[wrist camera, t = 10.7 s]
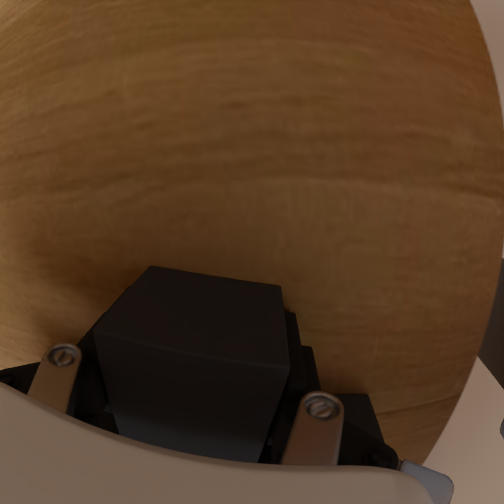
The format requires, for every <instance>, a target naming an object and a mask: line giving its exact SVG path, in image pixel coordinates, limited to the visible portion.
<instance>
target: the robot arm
mask: <svg viewBox="0 0 504 504" xmlns="http://www.w3.org/2000/svg"><path fill="white" fill-rule="evenodd" d="M130 287H131V286H129V287H128V288H127V289H126V291H127V290H128V289H129V288H130ZM126 291H125V292H126ZM125 292H124V293H125ZM124 293H123V294H124ZM123 294H122V295H121V296H120V297H119V298H118V299H117V301H118V300H119V299H120V298H121V297H122V296H123ZM117 301H116V302H117ZM116 302H115V303H116ZM115 303H114V304H113V305H112V306H111V307H110V308H109V310H110V309H111V308H112V307H113V306H114V305H115ZM109 310H108V311H109ZM108 311H107V312H105V313H104V314H103V315H102V316H101V317H100V318H99V319H98V321H97V322H96V323H95V324H94V325H93V326H92V327H91V329H90V330H89V331H88V332H87V333H86V335H85V336H84V337H83V338H82V339H81V340H80V342H79V343H78V344H77V345H74V344H72V343H64V342H62V343H57V344H55V345H52V346H51V347H49V348H48V349H47V351H46V352H45V354H44V356H43V358H42V361H41V362H37V363H32V364H27V365H22V366H17V367H12V368H7V369H3V370H0V504H450V502H451V498H452V495H453V492H454V485H453V482H452V480H451V479H450V478H449V477H448V476H446V475H444V474H442V473H439V472H436V471H434V470H431V469H429V468H426V467H424V466H421V465H419V464H416V463H414V462H411V461H409V460H407V459H404V460H403V461H401V460H399V459H398V456H397V454H396V452H395V451H394V450H393V449H392V448H391V447H389V446H388V445H386V444H385V443H383V442H381V441H380V440H378V439H376V438H375V437H373V436H371V435H370V434H368V433H366V432H365V431H363V430H361V429H360V428H358V427H357V426H355V425H353V424H352V423H350V422H349V421H347V420H346V419H344V406H343V404H342V402H341V401H340V400H339V399H338V398H337V397H336V396H334V395H332V394H330V393H327V392H323V391H321V388H320V383H319V378H318V373H317V369H316V364H315V360H314V355H313V350H312V347H310V346H301V342H300V336H299V330H298V325H297V320H296V314H295V313H293V312H285V311H284V316H285V324H286V332H287V341H288V350H289V359H290V371H289V374H288V377H287V380H286V384H285V387H284V390H283V393H282V396H281V399H280V402H279V405H278V408H277V410H276V413H275V416H274V419H273V422H272V425H271V428H270V430H269V433H268V436H267V445H272V447H273V448H274V449H276V450H277V451H278V454H277V456H276V459H275V462H274V464H260V463H249V462H239V461H231V460H223V459H217V458H210V457H205V456H199V455H194V454H189V453H184V452H179V451H174V450H170V449H166V448H162V447H158V446H154V445H150V444H147V443H143V442H140V441H136V440H133V439H130V438H127V437H123V436H120V435H117V434H115V433H112V432H109V431H106V430H103V429H100V428H98V422H99V413H100V412H103V411H106V412H109V413H112V414H113V412H112V409H111V406H110V402H109V399H108V395H107V392H106V388H105V384H104V380H103V376H102V372H101V368H100V363H99V359H98V354H97V349H96V344H95V339H94V333H93V330H94V328H95V326H96V325H97V324H98V323H99V322H100V321H101V319H102V318H103V317H104V316H105V315H106V314H107V313H108Z"/></svg>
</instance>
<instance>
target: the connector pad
mask: <svg viewBox="0 0 504 504" xmlns="http://www.w3.org/2000/svg"><path fill="white" fill-rule="evenodd" d="M93 333H94V339H95V344H96V349H97V354H98V359H99V363H100V368H101V372H102V376H103V380H104V384H105V388H106V392H107V395H108V399H109V402H110V406H111V409H112V412H113V416H114V419H115V422H116V425H117V428H118V431H119V434H120V436H123V437H127V438H130V439H133V440H136V441H140V442H143V443H147V444H150V445H154V446H158V447H162V448H166V449H170V450H174V451H179V452H184V453H189V454H194V455H199V456H205V457H210V458H217V459H223V460H231V461H239V462H249V463H257V462H258V460H259V457H260V454H261V452H262V449H263V447H264V444H265V441H266V438H267V436H268V433H269V430H270V428H271V425H272V422H273V419H274V416H275V413H276V410H277V408H278V405H279V402H280V399H281V396H282V393H283V390H284V387H285V384H286V380H287V377H288V374H289V371H290V359H289V350H288V341H287V332H286V324H285V316H284V307H283V299H282V291H281V287H280V286H276V285H269V284H262V283H255V282H249V281H242V280H235V279H229V278H223V277H216V276H210V275H204V274H198V273H192V272H186V271H180V270H174V269H168V268H162V267H156V266H149V267H148V268H147V270H146V271H145V272H144V273H143V274H142V275H141V276H140V277H139V278H138V279H137V280H136V281H135V282H134V284H133V285H132V286H131V287H130V288H129V289H128V290H127V291H126V292H125V293H124V294H123V296H122V297H121V298H120V299H119V300H118V301H117V302H116V303H115V305H114V306H113V307H112V308H111V309H110V310H109V311H108V313H107V314H106V315H105V316H104V317H103V318H102V319H101V321H100V322H99V323H98V324H97V325H96V326H95V328H94V330H93Z"/></svg>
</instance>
